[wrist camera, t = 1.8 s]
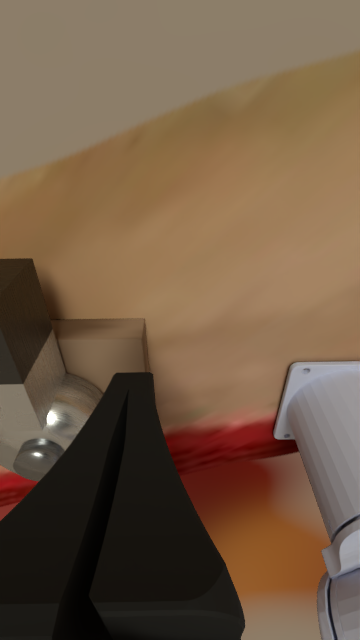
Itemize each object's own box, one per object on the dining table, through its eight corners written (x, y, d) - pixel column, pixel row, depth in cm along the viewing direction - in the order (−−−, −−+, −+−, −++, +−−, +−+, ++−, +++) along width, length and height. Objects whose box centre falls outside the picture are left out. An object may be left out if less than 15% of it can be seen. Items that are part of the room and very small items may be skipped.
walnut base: (144, 318, 19) (141, 341, 18) (153, 423, 25) (152, 448, 23) (-37, 320, 19) (-59, 343, 18) (13, 425, 25) (1, 450, 23)
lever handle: (114, 433, 22) (102, 497, 19) (27, 434, 22) (-2, 498, 19) (78, 257, 15) (46, 308, 11) (-53, 259, 15) (-127, 311, 11)
